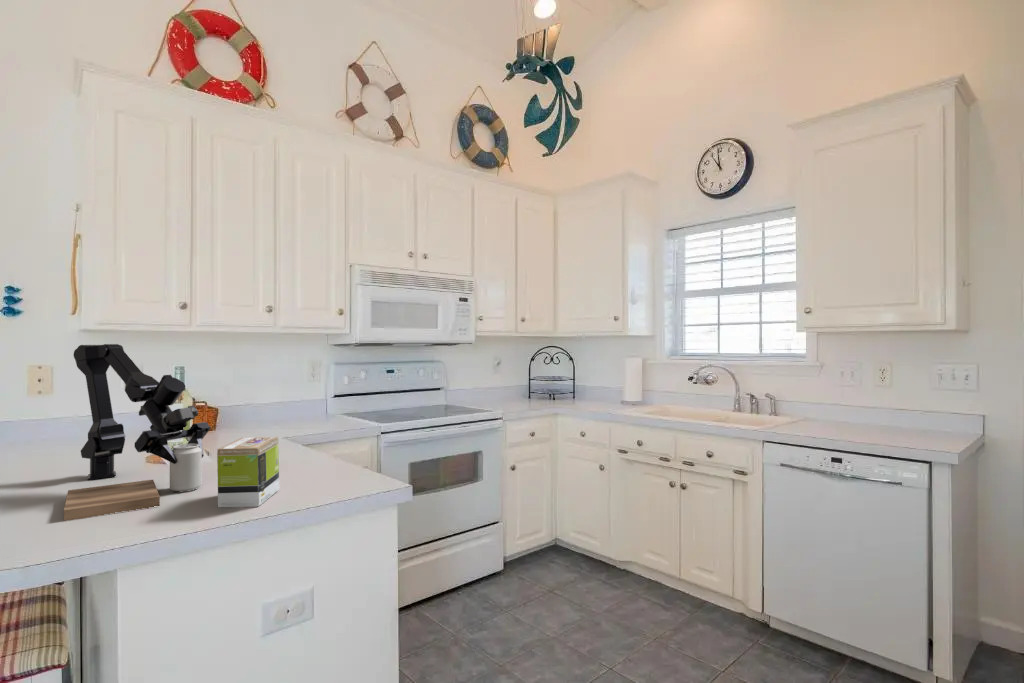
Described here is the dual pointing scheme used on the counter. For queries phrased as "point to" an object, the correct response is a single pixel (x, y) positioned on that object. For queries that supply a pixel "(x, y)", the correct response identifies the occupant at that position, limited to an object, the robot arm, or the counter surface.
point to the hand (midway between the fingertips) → (189, 459)
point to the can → (186, 468)
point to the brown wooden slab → (110, 499)
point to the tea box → (248, 471)
